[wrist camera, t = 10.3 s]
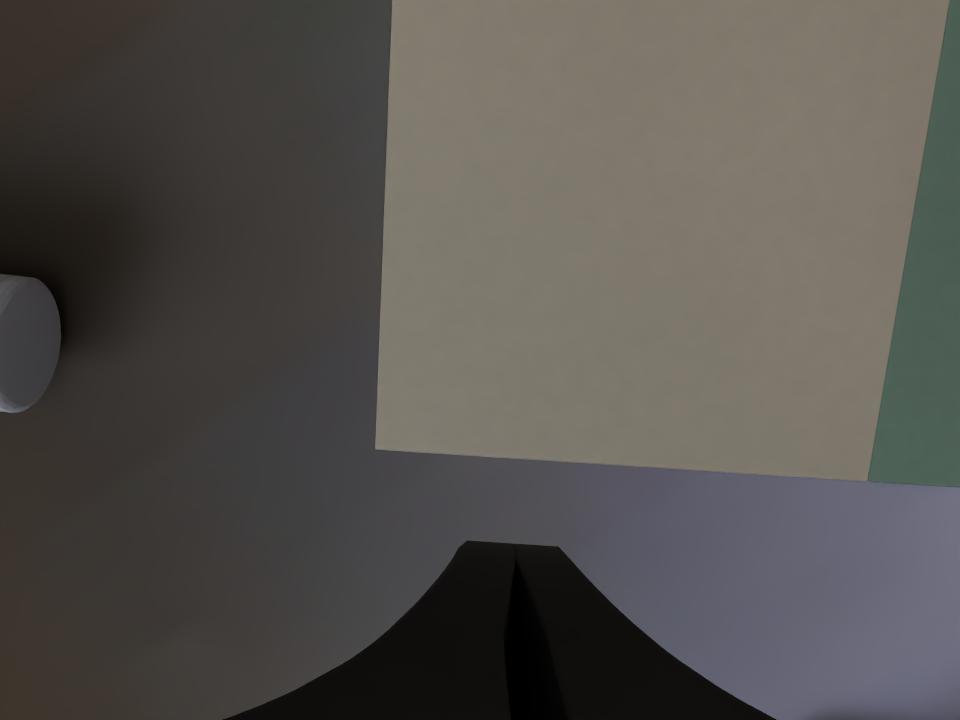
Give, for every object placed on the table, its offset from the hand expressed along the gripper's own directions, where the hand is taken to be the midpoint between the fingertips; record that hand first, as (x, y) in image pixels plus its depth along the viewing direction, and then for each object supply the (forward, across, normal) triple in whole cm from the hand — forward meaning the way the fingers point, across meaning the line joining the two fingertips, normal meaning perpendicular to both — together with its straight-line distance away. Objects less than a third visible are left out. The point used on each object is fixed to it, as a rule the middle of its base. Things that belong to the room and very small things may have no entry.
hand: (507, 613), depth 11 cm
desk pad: (+9, -9, -6) cm, 14 cm away
